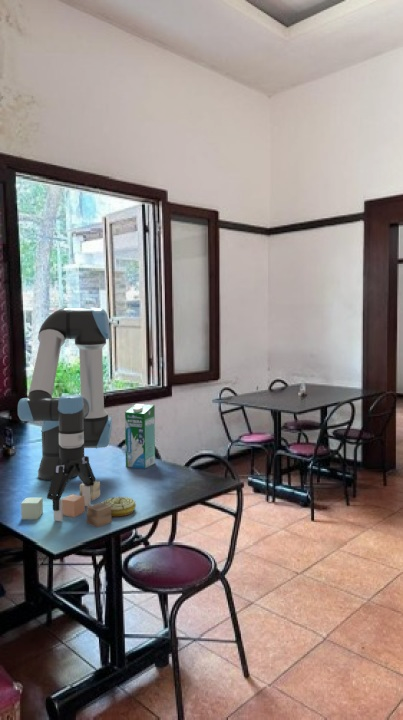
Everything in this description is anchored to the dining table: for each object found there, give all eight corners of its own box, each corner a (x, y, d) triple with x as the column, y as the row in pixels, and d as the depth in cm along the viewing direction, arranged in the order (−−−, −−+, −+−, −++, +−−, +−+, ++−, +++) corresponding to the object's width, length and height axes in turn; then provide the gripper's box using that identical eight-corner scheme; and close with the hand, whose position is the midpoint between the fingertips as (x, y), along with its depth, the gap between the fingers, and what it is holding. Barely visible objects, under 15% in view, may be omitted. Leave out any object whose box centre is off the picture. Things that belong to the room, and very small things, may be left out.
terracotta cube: (61, 514, 158) (61, 499, 158) (71, 509, 163) (71, 494, 163) (74, 517, 156) (74, 501, 156) (84, 511, 161) (84, 496, 161)
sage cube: (21, 519, 155) (20, 503, 155) (26, 513, 160) (26, 497, 160) (38, 519, 155) (37, 503, 155) (42, 513, 160) (42, 497, 160)
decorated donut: (111, 504, 168) (111, 493, 167) (141, 508, 164) (140, 496, 164) (94, 515, 158) (94, 503, 158) (126, 520, 154) (125, 507, 154)
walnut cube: (87, 523, 152) (86, 507, 151) (100, 518, 156) (100, 502, 155) (98, 527, 148) (97, 511, 148) (111, 522, 152) (111, 506, 152)
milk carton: (125, 466, 211) (124, 406, 209) (136, 461, 219) (135, 403, 217) (145, 469, 207) (144, 407, 206) (155, 463, 216) (154, 404, 214)
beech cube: (79, 499, 172) (79, 484, 172) (86, 494, 177) (86, 480, 177) (93, 500, 171) (93, 486, 171) (100, 495, 176) (99, 481, 175)
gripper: (53, 456, 145) (55, 529, 147) (105, 438, 168) (106, 501, 169) (33, 453, 148) (35, 525, 150) (86, 436, 171) (87, 498, 172)
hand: (73, 513), depth 159 cm, fingers open, 13 cm apart
